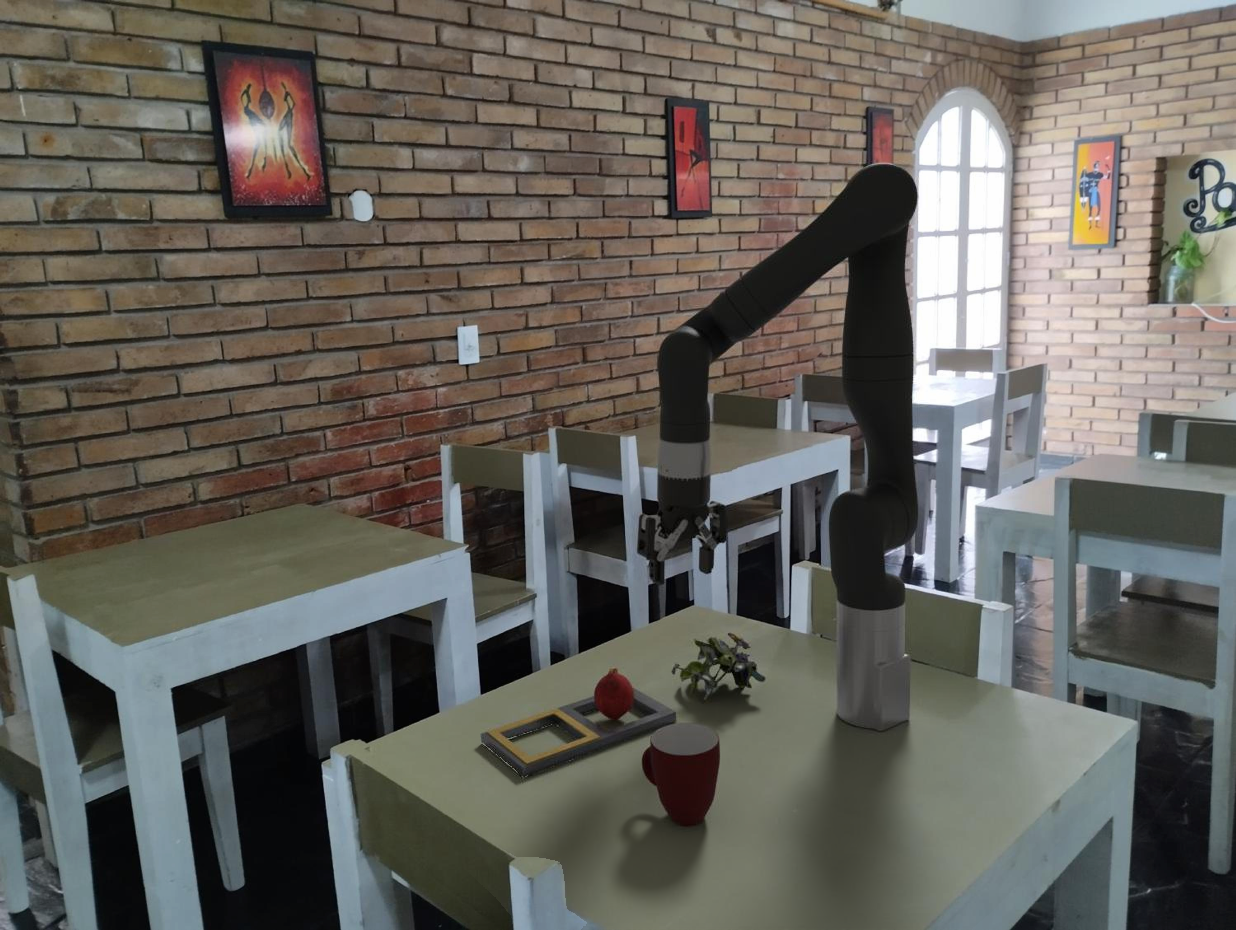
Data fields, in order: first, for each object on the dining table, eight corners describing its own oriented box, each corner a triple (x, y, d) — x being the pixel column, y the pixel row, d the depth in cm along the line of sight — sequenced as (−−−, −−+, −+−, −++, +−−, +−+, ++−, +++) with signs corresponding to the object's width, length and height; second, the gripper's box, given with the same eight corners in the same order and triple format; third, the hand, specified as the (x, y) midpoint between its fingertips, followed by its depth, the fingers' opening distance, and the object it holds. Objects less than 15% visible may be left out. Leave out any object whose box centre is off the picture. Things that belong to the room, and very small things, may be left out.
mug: (622, 817, 114) (618, 739, 112) (659, 786, 121) (656, 712, 119) (699, 843, 108) (697, 762, 106) (733, 809, 115) (732, 732, 113)
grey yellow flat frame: (676, 721, 138) (675, 710, 138) (523, 778, 124) (522, 766, 124) (628, 693, 148) (627, 683, 147) (481, 743, 134) (480, 732, 134)
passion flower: (739, 720, 149) (783, 668, 144) (696, 733, 141) (740, 679, 136) (696, 664, 155) (736, 613, 150) (652, 674, 147) (693, 620, 142)
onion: (631, 730, 136) (628, 677, 134) (591, 728, 137) (588, 675, 135) (638, 711, 141) (636, 660, 140) (600, 710, 143) (597, 659, 141)
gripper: (658, 482, 129) (656, 595, 133) (740, 468, 136) (736, 576, 140) (627, 470, 135) (626, 579, 139) (707, 458, 143) (704, 561, 146)
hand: (682, 577), depth 140 cm, fingers open, 8 cm apart
